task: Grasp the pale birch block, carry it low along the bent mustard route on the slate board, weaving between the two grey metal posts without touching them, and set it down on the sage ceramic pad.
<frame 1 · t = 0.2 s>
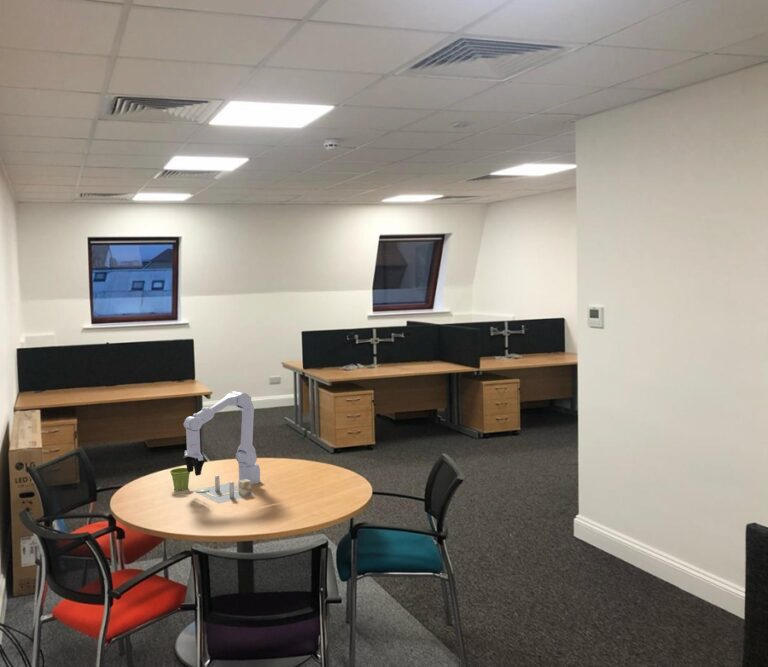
hand: (194, 473, 325), 10 cm above the table, tool pointing down, fingers open, 7 cm apart
board: (224, 493, 327), on the table
pad: (202, 492, 330), resting on board
plant pot: (181, 489, 336), on the table
block: (244, 494, 325), point 1 cm above the table, touching board
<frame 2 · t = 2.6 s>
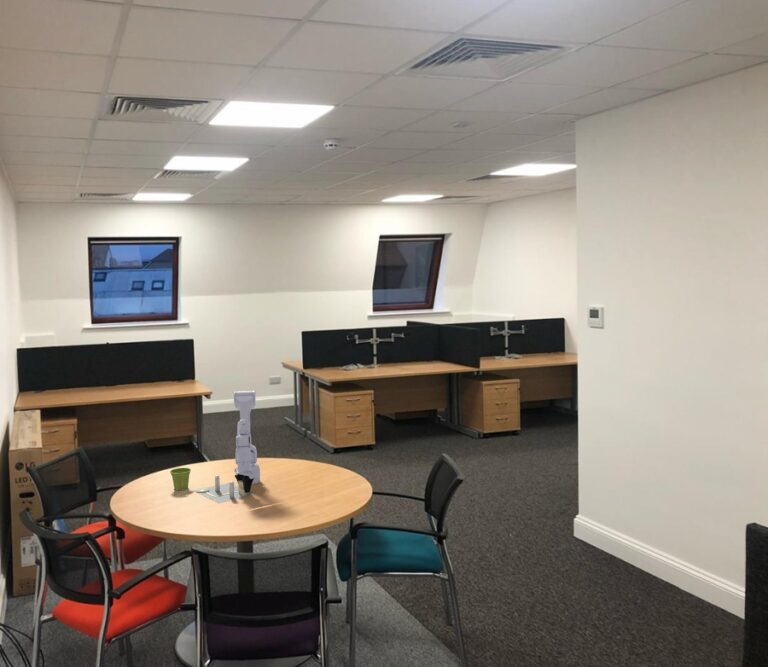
hand: (244, 491, 325), 2 cm above the table, tool pointing down, fingers closed on block, 4 cm apart
block: (244, 494, 325), point 1 cm above the table, touching board, gripper
everything else where it was.
when the fingers open (4 cm above the table, at t = 7.3 s): block stays where it is, resting on pad.
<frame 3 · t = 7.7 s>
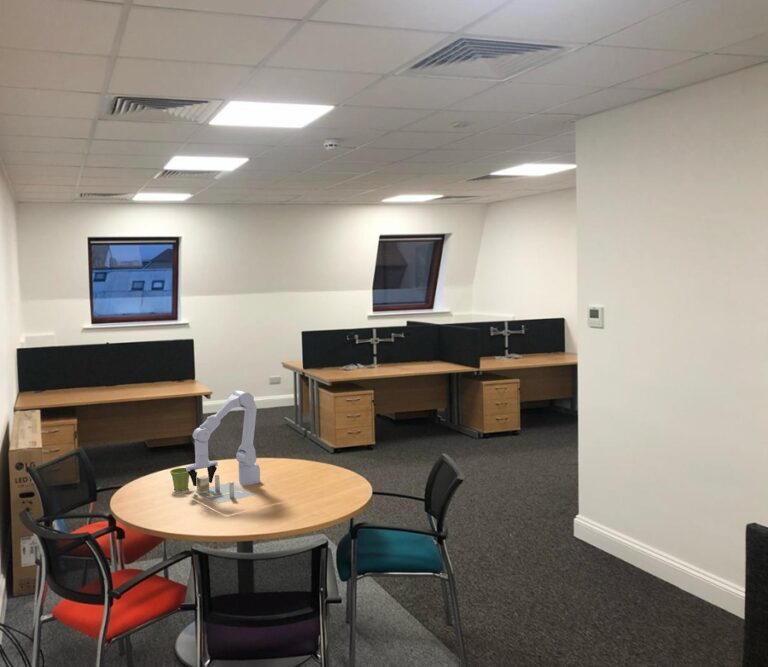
hand: (202, 484, 330), 4 cm above the table, tool pointing down, fingers open, 7 cm apart
block: (203, 490, 330), point 1 cm above the table, touching pad
everything else where it was.
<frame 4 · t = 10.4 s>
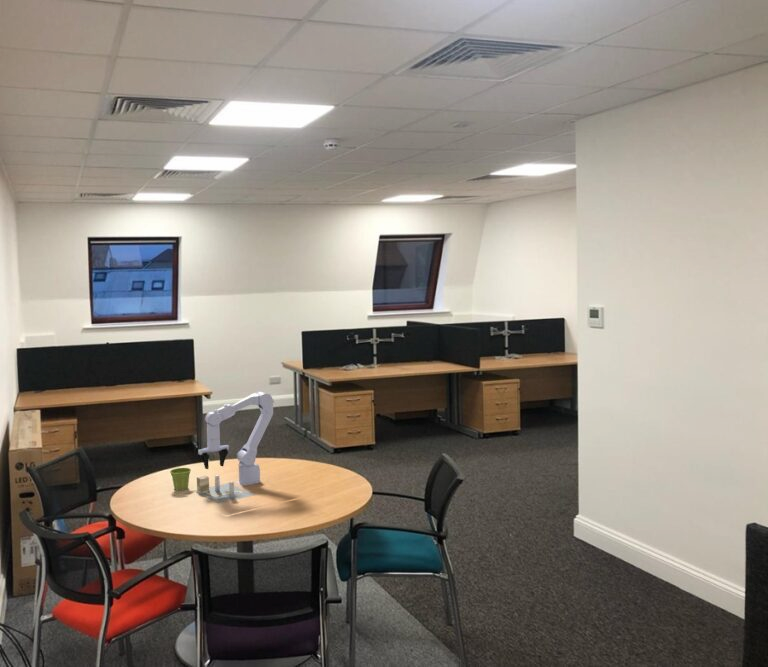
hand: (214, 467, 335), 10 cm above the table, tool pointing down, fingers open, 7 cm apart
nothing on the table moved.
at the end: block 0.4 cm off-centre on the pad, point 1.0 cm above the pad's base; block tilted 0°; the gripper is holding nothing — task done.
